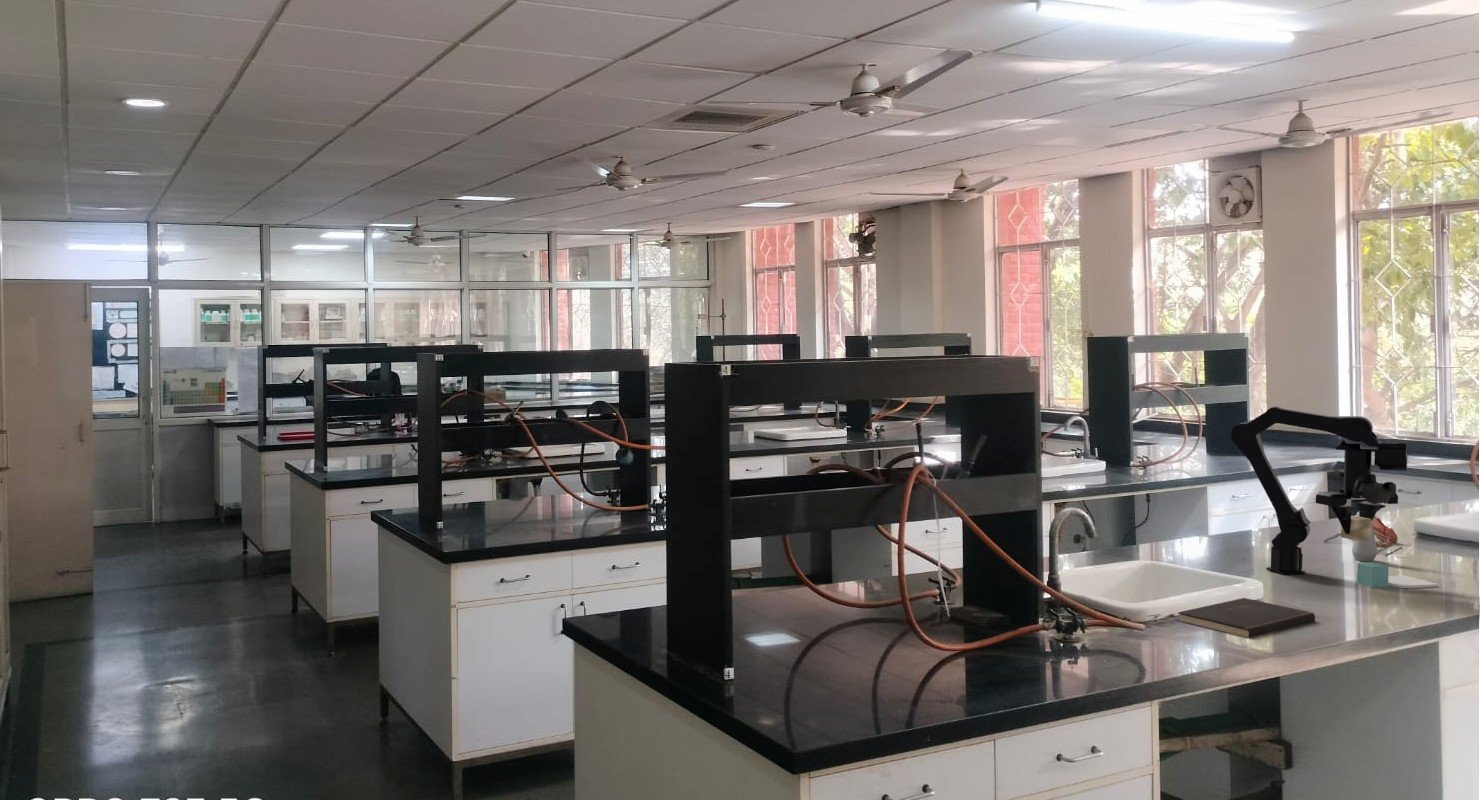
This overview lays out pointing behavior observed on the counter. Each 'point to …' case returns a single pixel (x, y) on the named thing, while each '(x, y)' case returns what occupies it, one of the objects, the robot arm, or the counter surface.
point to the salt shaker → (1365, 547)
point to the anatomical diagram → (1380, 535)
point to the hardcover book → (1247, 617)
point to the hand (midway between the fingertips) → (1355, 533)
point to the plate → (1409, 582)
